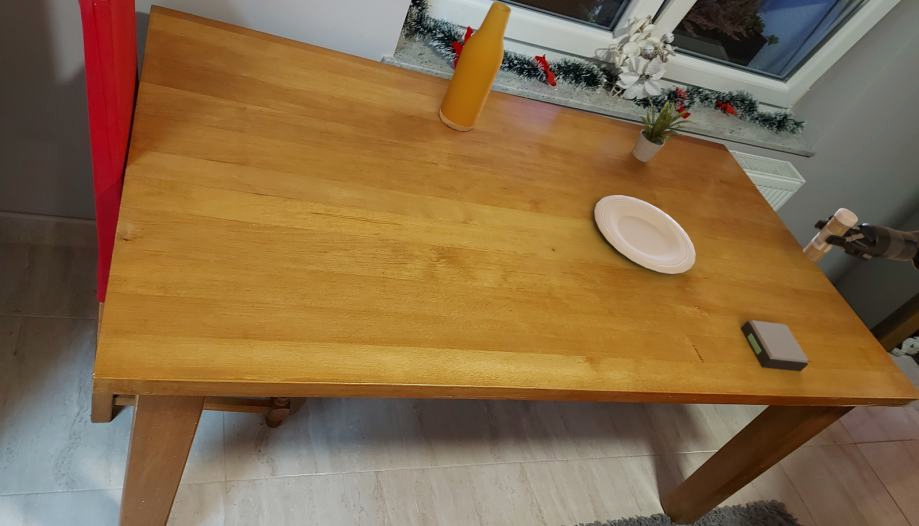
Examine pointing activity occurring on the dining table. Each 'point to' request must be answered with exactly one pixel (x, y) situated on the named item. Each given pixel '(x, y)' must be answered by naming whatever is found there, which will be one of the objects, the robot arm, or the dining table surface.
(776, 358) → the scale
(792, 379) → the dining table surface
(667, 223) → the plate
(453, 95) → the beer bottle
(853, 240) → the robot arm
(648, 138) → the house plant
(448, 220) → the dining table surface
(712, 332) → the dining table surface
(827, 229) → the sprinkles bottle
